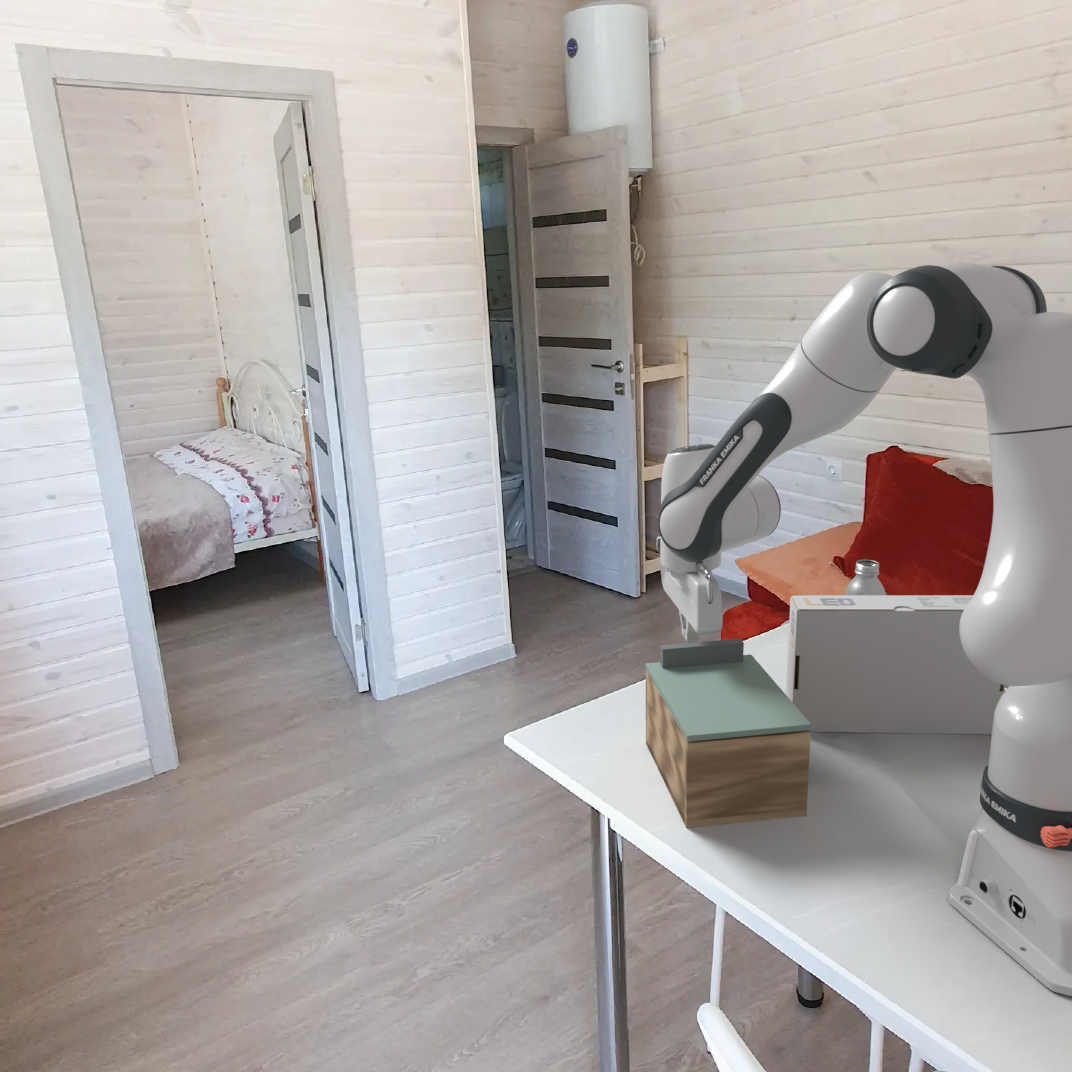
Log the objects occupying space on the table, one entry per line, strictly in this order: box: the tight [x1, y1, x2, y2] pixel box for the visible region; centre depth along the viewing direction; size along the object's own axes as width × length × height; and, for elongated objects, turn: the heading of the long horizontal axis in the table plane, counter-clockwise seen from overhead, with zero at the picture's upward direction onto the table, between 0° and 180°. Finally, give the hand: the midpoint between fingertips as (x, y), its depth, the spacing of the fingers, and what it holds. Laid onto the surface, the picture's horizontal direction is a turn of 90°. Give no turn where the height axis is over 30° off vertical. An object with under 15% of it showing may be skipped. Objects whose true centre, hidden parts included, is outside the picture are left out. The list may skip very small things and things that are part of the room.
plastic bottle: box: [844, 559, 887, 595], centre depth 156 cm, size 6×7×20 cm
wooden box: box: [645, 669, 812, 829], centre depth 127 cm, size 22×16×12 cm
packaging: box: [785, 594, 1006, 735], centre depth 139 cm, size 30×6×20 cm, turn 84°
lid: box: [645, 638, 811, 742], centre depth 125 cm, size 22×16×4 cm
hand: (690, 639), depth 140 cm, fingers closed
